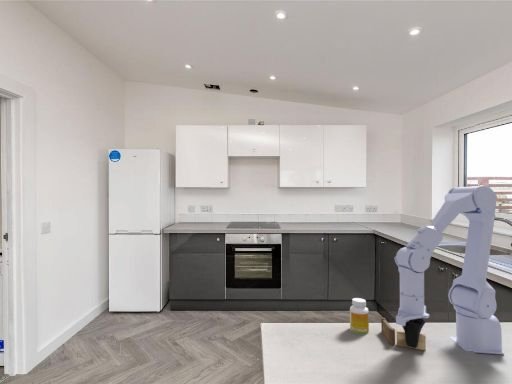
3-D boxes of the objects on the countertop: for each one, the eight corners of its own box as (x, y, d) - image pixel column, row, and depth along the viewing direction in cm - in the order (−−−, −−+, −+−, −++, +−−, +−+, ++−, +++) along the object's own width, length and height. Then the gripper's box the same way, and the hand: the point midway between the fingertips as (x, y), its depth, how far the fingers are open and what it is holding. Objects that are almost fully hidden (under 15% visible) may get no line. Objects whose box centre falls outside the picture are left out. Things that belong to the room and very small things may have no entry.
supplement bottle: (371, 336, 84) (371, 303, 85) (353, 336, 85) (352, 302, 85) (365, 328, 90) (364, 297, 90) (347, 328, 90) (347, 296, 90)
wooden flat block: (396, 345, 78) (396, 331, 78) (396, 343, 79) (396, 329, 79) (425, 350, 75) (425, 335, 75) (425, 348, 76) (425, 334, 76)
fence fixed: (385, 333, 87) (385, 317, 87) (396, 347, 78) (395, 330, 78) (380, 333, 87) (380, 317, 87) (389, 347, 78) (389, 330, 78)
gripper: (417, 303, 68) (417, 362, 68) (438, 292, 78) (438, 343, 77) (387, 296, 74) (387, 350, 73) (410, 286, 83) (411, 334, 83)
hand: (412, 346), depth 76 cm, fingers closed, pressing on wooden flat block
